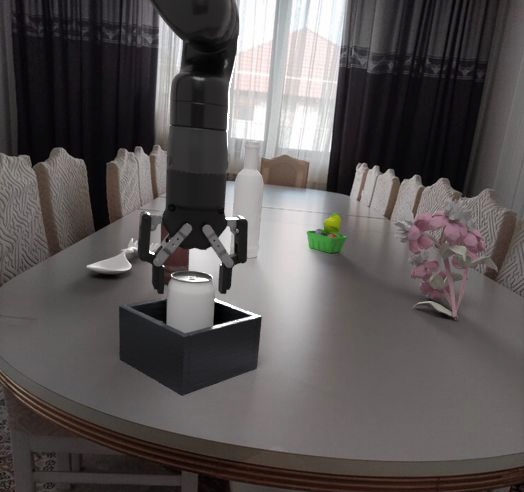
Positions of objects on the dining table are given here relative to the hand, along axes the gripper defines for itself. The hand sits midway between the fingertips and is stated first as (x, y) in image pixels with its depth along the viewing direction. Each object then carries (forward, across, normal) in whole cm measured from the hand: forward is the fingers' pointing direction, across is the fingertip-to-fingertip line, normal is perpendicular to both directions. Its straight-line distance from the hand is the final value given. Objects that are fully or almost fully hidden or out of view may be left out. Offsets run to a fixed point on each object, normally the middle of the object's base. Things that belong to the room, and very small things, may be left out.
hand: (191, 292), depth 71 cm
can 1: (+11, -4, -43) cm, 44 cm away
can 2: (+10, 0, 0) cm, 10 cm away
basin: (+11, 0, 0) cm, 11 cm away
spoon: (+11, +5, -59) cm, 60 cm away
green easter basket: (+11, -58, -82) cm, 101 cm away
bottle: (+11, -28, -72) cm, 78 cm away
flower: (+11, -59, -26) cm, 65 cm away
